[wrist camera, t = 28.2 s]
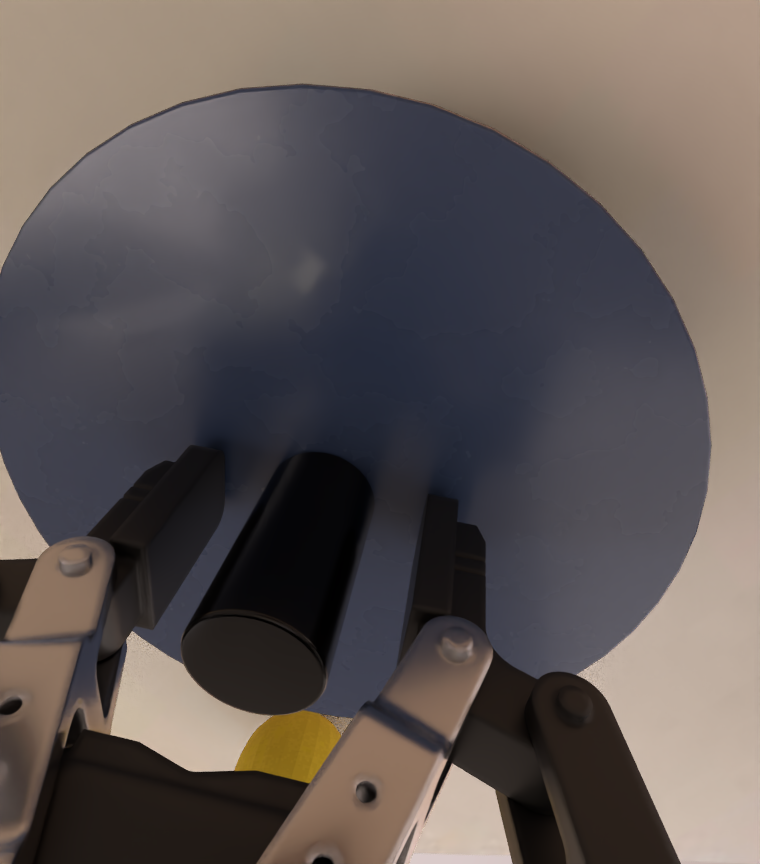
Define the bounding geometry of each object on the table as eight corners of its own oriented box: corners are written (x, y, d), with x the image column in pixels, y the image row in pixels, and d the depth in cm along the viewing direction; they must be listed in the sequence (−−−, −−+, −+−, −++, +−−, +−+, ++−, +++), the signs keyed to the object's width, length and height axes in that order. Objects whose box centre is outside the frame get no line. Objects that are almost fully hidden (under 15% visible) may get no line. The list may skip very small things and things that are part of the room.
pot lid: (-99, 380, 16) (-390, 520, 11) (409, -175, 9) (298, -575, 4) (301, 739, 21) (240, 952, 16) (813, 567, 14) (1005, 842, 9)
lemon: (244, 683, 31) (176, 847, 24) (335, 667, 29) (289, 840, 23) (291, 746, 33) (241, 913, 27) (378, 735, 32) (349, 911, 25)
